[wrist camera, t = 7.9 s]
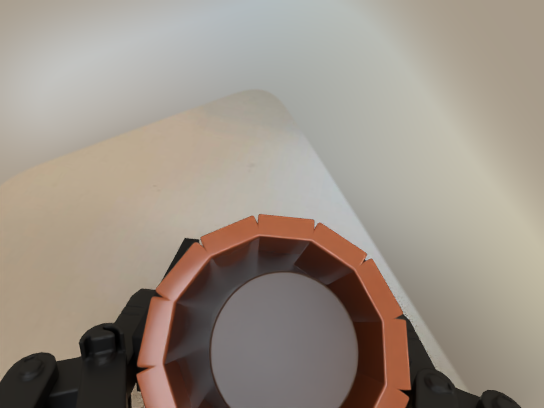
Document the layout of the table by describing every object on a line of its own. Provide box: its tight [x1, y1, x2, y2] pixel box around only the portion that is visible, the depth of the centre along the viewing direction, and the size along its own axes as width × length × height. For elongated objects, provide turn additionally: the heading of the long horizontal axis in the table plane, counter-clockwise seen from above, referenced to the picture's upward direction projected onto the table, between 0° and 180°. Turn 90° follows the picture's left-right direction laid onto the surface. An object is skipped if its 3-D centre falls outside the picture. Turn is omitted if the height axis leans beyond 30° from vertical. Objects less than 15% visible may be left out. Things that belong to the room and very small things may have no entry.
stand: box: [208, 271, 358, 408], centre depth 13 cm, size 8×8×13 cm
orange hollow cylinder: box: [136, 214, 411, 408], centre depth 14 cm, size 8×8×10 cm
